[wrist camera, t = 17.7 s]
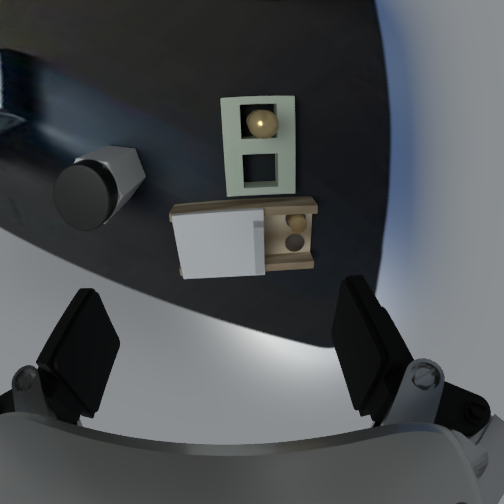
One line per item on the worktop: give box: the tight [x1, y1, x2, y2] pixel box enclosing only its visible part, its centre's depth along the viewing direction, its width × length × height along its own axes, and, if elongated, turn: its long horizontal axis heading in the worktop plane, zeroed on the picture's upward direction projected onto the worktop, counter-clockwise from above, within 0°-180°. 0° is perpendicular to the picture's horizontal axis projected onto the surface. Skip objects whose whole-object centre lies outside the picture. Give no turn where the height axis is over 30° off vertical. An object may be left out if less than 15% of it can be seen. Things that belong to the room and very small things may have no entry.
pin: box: [246, 110, 279, 139], centre depth 29 cm, size 3×3×10 cm
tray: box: [169, 196, 318, 276], centre depth 40 cm, size 10×20×4 cm, turn 92°
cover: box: [172, 208, 265, 279], centre depth 37 cm, size 10×12×3 cm
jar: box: [53, 145, 146, 231], centre depth 31 cm, size 9×8×12 cm
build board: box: [221, 96, 295, 197], centre depth 34 cm, size 13×9×3 cm
